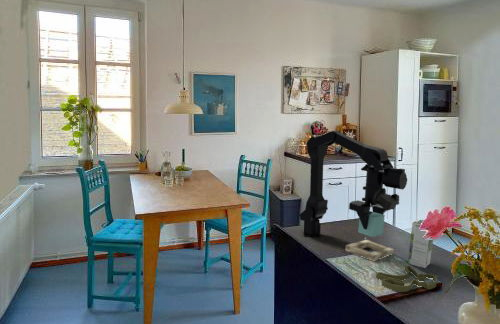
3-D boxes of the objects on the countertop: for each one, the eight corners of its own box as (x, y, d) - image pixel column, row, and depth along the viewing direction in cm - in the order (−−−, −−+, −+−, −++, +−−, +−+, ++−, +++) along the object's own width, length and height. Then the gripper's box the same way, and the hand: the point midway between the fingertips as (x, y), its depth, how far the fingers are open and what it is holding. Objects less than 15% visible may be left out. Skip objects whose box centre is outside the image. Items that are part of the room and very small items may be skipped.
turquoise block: (372, 237, 129) (373, 217, 128) (358, 232, 134) (359, 213, 133) (383, 234, 133) (384, 215, 132) (368, 229, 137) (370, 211, 136)
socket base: (372, 261, 126) (373, 254, 126) (342, 249, 137) (342, 242, 136) (395, 254, 134) (396, 247, 133) (365, 243, 144) (366, 236, 144)
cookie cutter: (411, 270, 121) (412, 264, 120) (445, 286, 110) (446, 279, 110) (369, 279, 113) (370, 273, 113) (401, 298, 102) (401, 291, 102)
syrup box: (412, 259, 129) (416, 218, 127) (431, 263, 126) (435, 221, 124) (407, 263, 125) (411, 221, 123) (426, 268, 121) (430, 225, 119)
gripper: (377, 191, 119) (373, 238, 121) (410, 186, 130) (406, 229, 132) (349, 185, 128) (346, 229, 130) (383, 181, 139) (379, 221, 141)
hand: (370, 227), depth 133 cm, fingers closed on turquoise block, 6 cm apart
